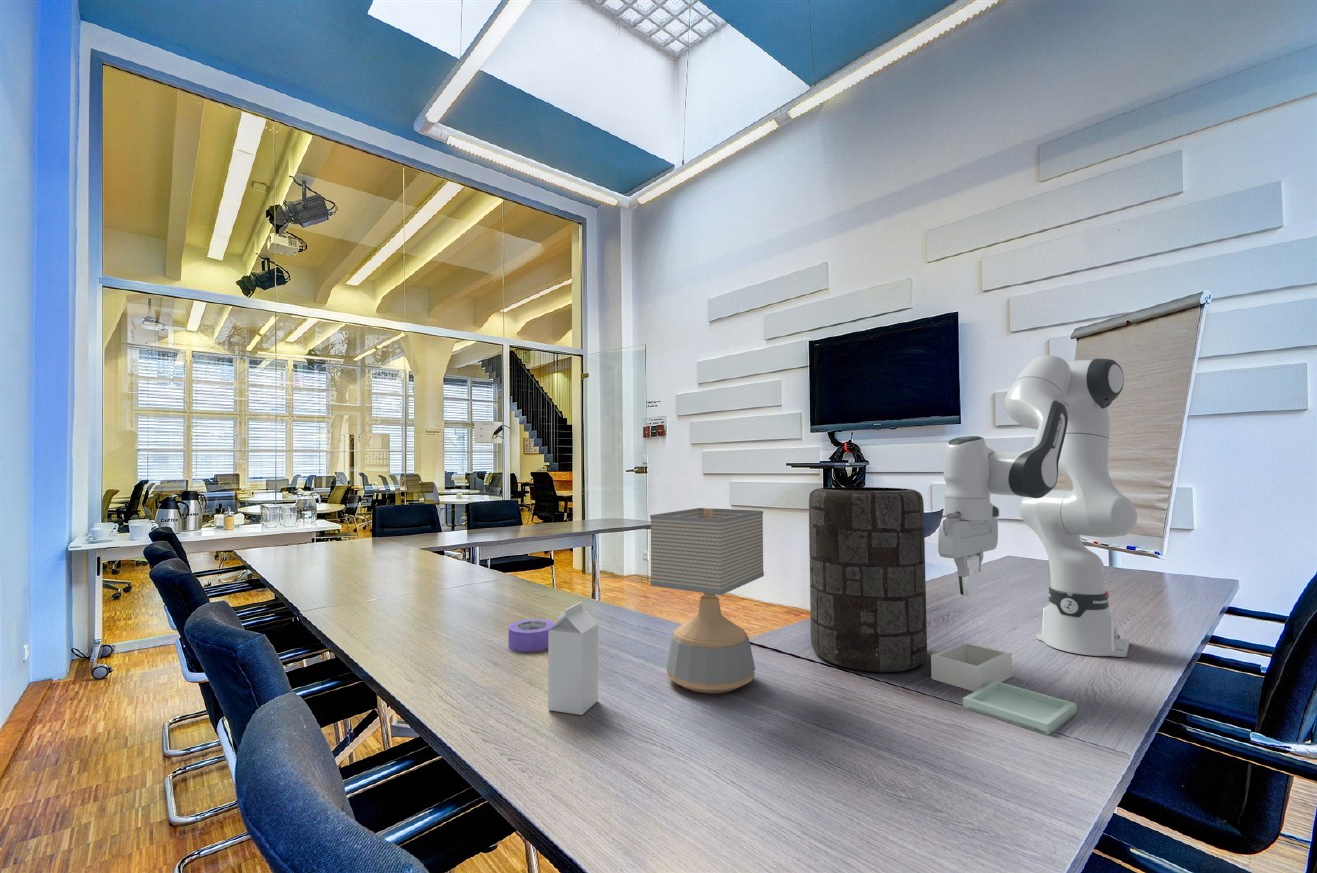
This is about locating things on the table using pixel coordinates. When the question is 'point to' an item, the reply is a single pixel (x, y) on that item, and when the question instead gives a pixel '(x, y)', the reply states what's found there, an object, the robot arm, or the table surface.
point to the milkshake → (970, 577)
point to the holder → (971, 666)
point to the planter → (868, 577)
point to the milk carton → (573, 662)
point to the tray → (1021, 707)
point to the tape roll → (529, 635)
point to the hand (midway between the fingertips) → (969, 574)
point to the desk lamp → (708, 591)
